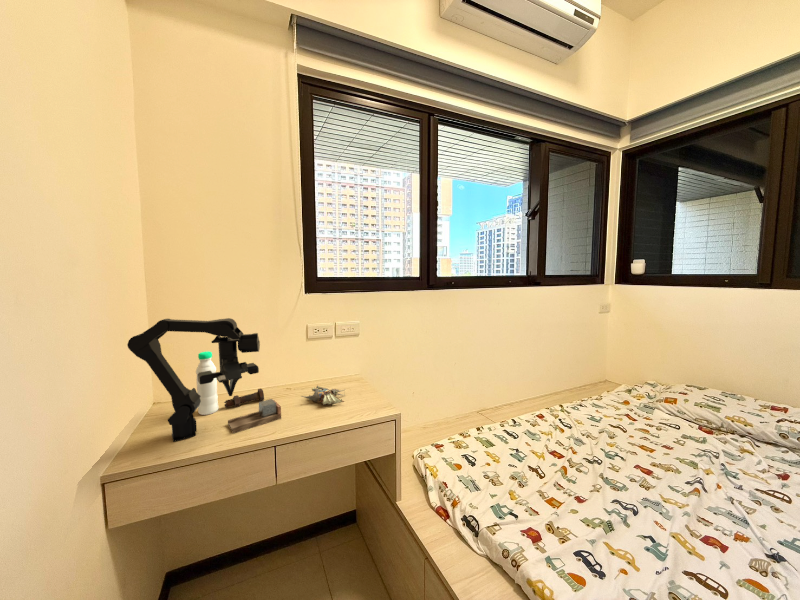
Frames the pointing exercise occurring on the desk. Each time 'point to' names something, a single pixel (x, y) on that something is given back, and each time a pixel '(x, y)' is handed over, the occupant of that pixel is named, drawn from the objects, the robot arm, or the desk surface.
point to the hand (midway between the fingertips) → (230, 395)
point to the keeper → (267, 408)
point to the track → (252, 420)
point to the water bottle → (207, 385)
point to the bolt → (245, 399)
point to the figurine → (325, 396)
